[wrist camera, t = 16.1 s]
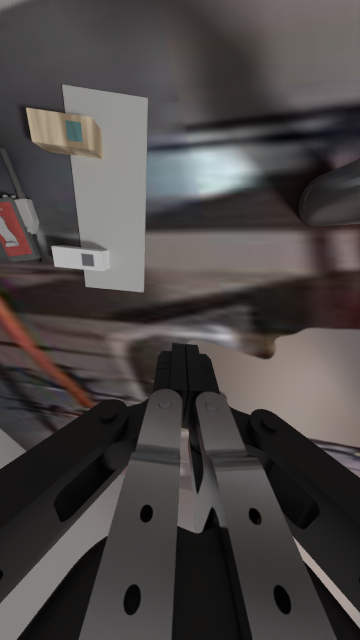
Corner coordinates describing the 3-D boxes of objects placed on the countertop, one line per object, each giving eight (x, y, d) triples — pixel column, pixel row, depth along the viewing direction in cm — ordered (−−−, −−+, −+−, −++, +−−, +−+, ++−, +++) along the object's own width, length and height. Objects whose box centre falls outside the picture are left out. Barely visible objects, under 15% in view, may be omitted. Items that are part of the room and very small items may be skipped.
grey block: (101, 251, 37) (51, 246, 36) (103, 271, 39) (54, 266, 38) (108, 250, 41) (62, 245, 40) (109, 268, 42) (65, 263, 42)
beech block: (91, 117, 29) (25, 107, 28) (94, 150, 30) (31, 141, 30) (101, 130, 32) (43, 122, 32) (103, 159, 34) (47, 151, 33)
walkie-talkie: (57, 261, 42) (13, 150, 34) (44, 264, 38) (-9, 138, 30) (20, 265, 42) (-31, 156, 34) (4, 269, 38) (-59, 146, 30)
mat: (147, 99, 31) (147, 98, 31) (143, 291, 45) (143, 292, 45) (63, 86, 30) (62, 84, 30) (86, 286, 44) (85, 286, 44)
